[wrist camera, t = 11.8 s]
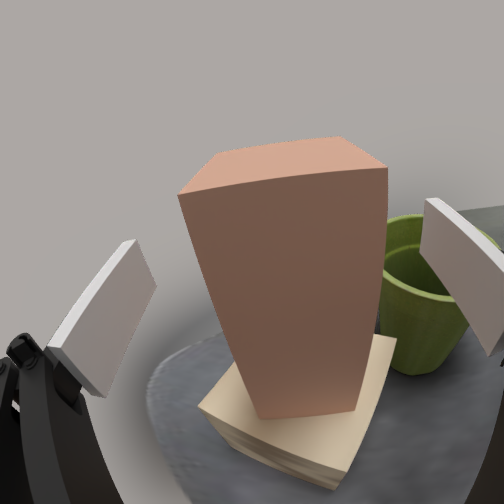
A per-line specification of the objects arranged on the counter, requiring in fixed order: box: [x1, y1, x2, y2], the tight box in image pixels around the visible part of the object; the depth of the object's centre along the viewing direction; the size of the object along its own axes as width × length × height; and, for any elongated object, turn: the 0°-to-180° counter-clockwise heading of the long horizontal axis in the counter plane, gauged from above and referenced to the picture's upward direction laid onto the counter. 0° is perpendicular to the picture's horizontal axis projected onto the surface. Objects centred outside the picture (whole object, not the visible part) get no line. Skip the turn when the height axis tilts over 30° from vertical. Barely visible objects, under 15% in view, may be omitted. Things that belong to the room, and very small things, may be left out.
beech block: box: [198, 334, 397, 491], centre depth 16 cm, size 9×9×8 cm
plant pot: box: [379, 214, 501, 375], centre depth 19 cm, size 12×12×11 cm
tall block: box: [177, 136, 388, 419], centre depth 11 cm, size 5×5×12 cm
